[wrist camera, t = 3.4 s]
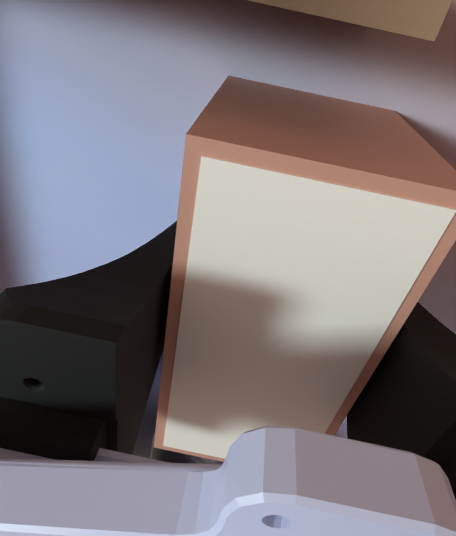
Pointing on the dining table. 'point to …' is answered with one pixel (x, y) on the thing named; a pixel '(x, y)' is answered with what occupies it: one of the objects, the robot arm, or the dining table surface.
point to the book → (293, 261)
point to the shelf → (377, 13)
